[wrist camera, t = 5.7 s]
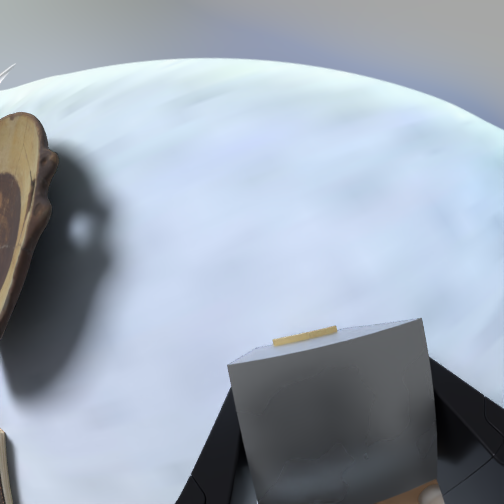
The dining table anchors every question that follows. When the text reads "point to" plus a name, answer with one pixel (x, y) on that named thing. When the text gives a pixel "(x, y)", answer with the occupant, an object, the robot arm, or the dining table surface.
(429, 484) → the post base
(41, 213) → the oil lamp
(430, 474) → the grey cardboard box
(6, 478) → the hardcover book
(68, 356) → the dining table surface
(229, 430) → the robot arm
